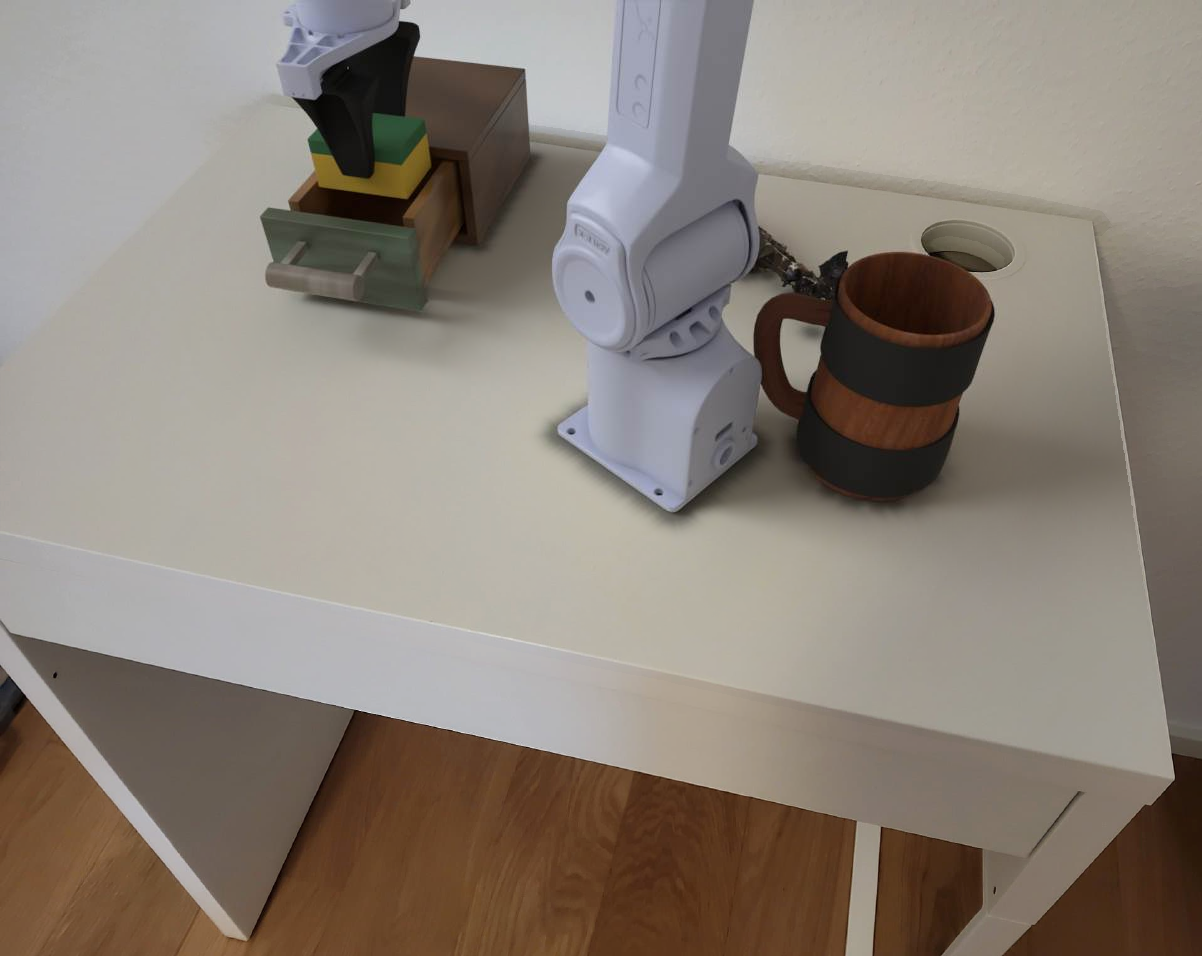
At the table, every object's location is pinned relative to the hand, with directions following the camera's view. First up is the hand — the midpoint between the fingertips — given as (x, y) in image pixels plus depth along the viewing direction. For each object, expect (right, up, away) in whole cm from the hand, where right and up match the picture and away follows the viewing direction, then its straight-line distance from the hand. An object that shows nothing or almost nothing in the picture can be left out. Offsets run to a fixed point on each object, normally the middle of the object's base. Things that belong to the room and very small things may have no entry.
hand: (373, 155), depth 63 cm
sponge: (0, -1, +1) cm, 2 cm away
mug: (+30, -20, -7) cm, 37 cm away
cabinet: (+2, +1, +12) cm, 12 cm away
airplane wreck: (+26, -7, +4) cm, 27 cm away
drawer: (-1, -7, +3) cm, 8 cm away
